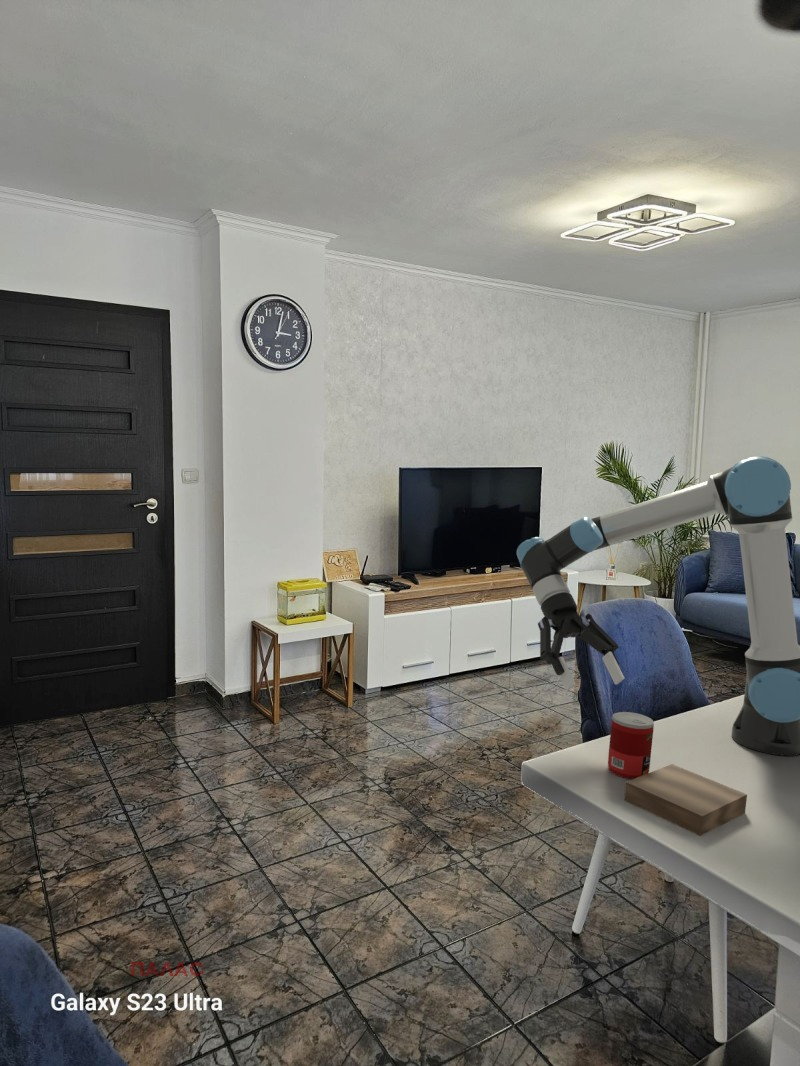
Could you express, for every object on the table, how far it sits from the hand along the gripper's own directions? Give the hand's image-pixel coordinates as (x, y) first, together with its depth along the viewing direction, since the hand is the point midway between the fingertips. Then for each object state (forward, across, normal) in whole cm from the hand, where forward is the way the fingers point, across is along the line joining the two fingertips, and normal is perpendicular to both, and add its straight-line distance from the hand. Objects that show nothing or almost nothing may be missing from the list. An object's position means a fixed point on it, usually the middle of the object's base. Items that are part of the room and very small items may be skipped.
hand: (596, 684), depth 158 cm
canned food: (+18, 0, -3) cm, 18 cm away
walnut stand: (+29, +1, +8) cm, 30 cm away
